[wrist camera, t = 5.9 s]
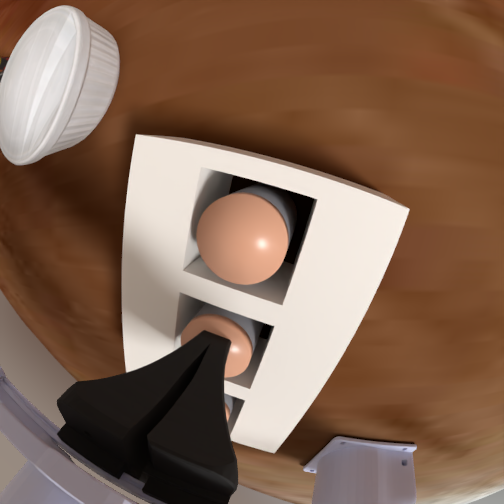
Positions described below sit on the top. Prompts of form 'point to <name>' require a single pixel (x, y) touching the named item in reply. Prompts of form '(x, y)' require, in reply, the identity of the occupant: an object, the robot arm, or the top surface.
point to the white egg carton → (253, 295)
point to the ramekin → (56, 85)
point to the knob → (247, 233)
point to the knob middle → (227, 334)
